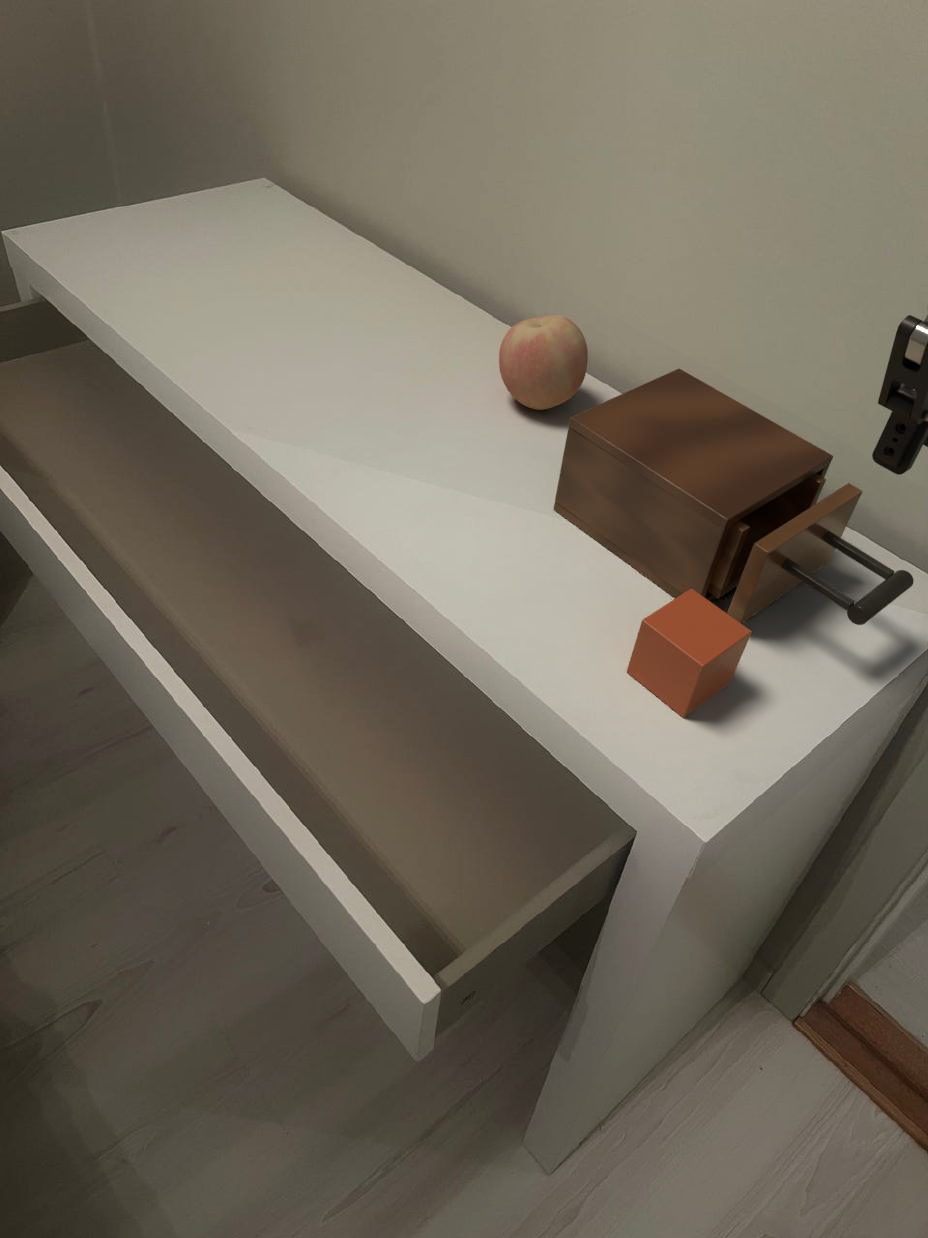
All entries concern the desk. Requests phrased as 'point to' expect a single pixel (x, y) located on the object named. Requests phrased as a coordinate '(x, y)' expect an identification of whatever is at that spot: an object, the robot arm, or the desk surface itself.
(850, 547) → the drawer
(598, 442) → the cabinet
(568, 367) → the apple
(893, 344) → the robot arm
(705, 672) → the block
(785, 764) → the desk surface
